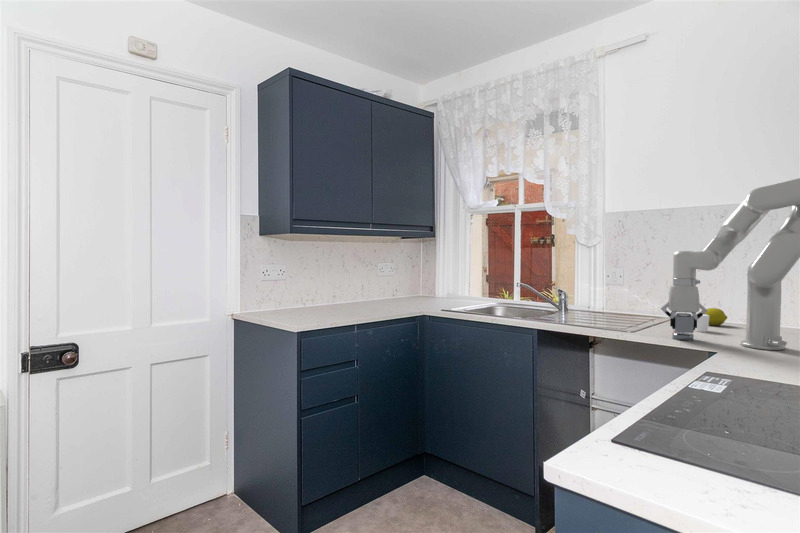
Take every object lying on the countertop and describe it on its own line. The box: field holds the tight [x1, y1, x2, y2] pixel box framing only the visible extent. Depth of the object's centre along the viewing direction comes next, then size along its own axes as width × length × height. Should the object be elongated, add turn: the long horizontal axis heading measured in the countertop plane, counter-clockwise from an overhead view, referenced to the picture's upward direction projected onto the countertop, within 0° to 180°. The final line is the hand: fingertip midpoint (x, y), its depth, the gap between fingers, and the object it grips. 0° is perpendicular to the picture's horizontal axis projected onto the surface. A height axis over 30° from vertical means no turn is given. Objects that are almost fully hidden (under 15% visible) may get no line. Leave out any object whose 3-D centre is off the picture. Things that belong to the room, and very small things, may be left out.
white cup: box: [690, 313, 709, 333], centre depth 197 cm, size 7×7×7 cm
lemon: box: [698, 307, 728, 327], centre depth 211 cm, size 11×8×8 cm
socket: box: [674, 312, 695, 334], centre depth 179 cm, size 6×6×7 cm
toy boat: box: [671, 328, 695, 342], centre depth 185 cm, size 20×7×5 cm, turn 155°
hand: (683, 328), depth 179 cm, fingers closed on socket, 6 cm apart
